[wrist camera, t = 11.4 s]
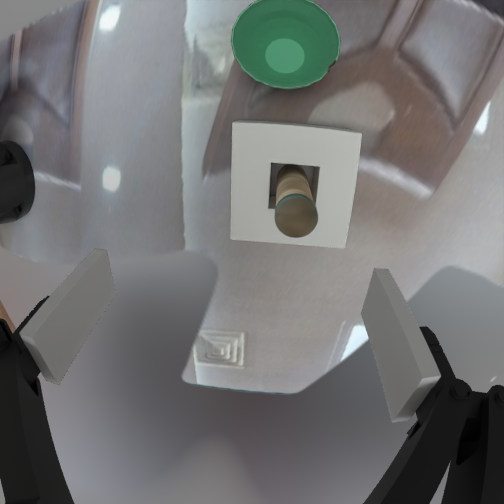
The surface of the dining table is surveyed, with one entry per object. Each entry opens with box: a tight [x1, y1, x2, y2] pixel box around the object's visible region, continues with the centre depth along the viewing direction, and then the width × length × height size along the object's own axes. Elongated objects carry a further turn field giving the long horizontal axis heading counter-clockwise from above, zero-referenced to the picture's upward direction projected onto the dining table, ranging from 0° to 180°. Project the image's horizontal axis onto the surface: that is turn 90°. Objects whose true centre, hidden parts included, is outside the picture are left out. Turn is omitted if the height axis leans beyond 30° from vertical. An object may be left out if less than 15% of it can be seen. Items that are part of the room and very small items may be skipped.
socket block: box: [231, 120, 362, 249], centre depth 35 cm, size 14×14×5 cm
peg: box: [274, 164, 318, 238], centre depth 31 cm, size 4×4×14 cm
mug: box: [231, 0, 341, 89], centre depth 25 cm, size 15×10×10 cm
